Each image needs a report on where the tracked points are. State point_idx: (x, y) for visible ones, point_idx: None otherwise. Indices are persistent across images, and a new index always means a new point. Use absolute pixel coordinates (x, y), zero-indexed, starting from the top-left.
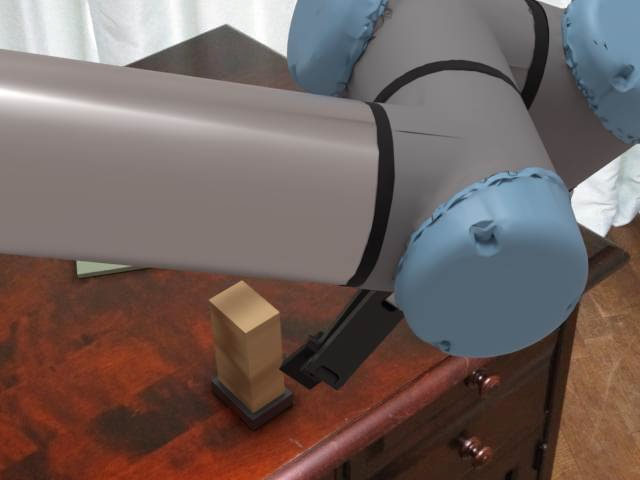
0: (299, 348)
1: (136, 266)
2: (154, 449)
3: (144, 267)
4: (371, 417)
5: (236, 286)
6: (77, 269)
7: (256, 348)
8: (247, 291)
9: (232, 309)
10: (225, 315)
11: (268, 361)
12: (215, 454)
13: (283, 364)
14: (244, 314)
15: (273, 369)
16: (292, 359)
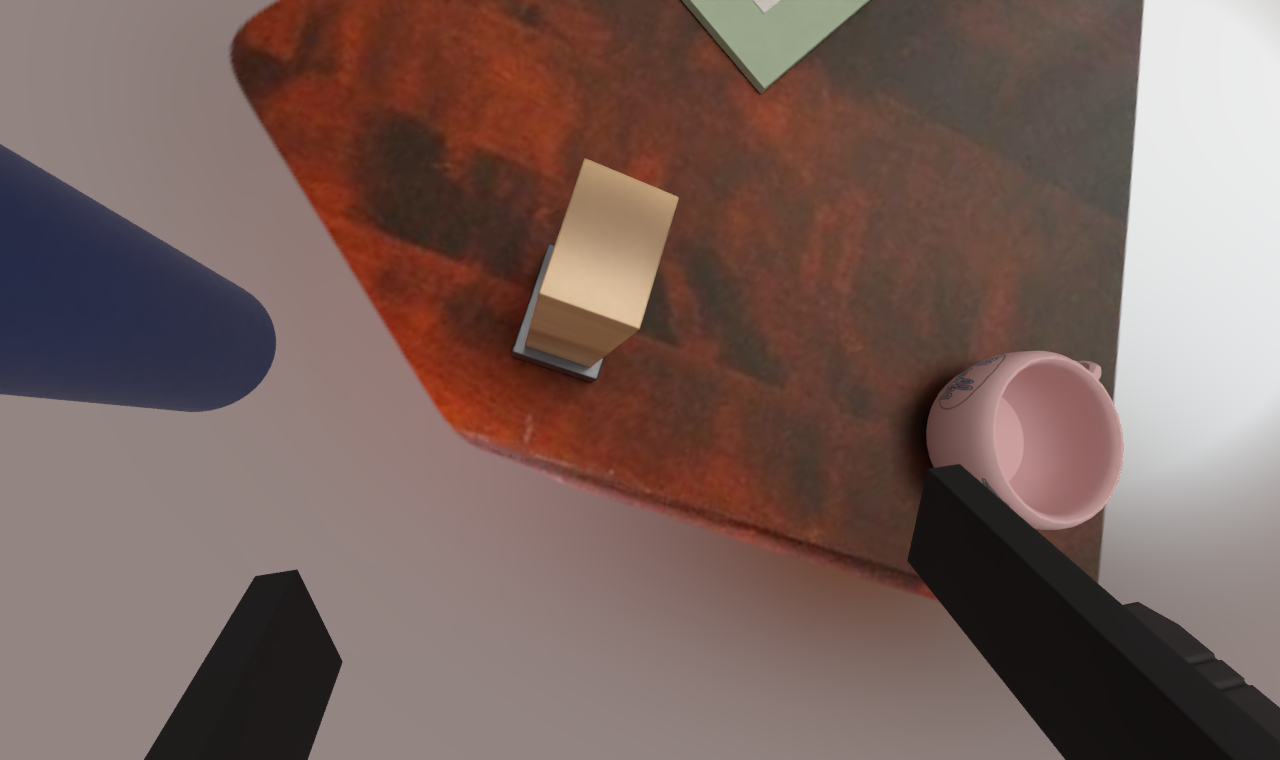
0: (200, 737)
1: (695, 9)
2: (392, 234)
3: (702, 23)
4: (634, 505)
5: (654, 195)
6: None
7: (558, 319)
8: (655, 226)
9: (588, 224)
10: (564, 219)
11: (577, 340)
12: (436, 328)
13: (246, 605)
14: (588, 258)
15: (582, 349)
16: (187, 697)
